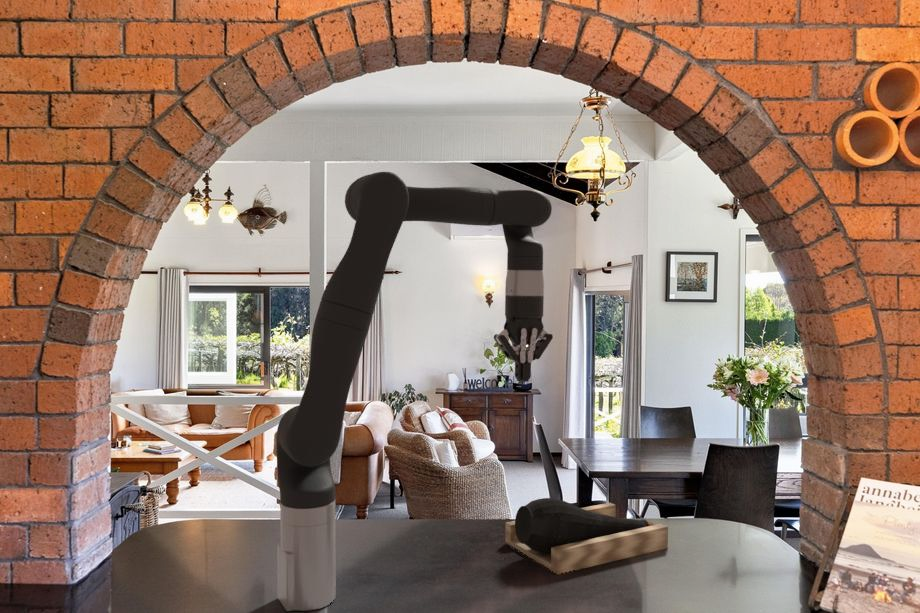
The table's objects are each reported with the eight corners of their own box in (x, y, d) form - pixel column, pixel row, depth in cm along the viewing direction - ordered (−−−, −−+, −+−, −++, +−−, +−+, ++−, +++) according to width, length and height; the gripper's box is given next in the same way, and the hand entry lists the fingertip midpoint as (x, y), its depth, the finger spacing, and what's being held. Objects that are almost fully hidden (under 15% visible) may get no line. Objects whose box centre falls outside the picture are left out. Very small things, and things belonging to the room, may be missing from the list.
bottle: (541, 537, 135) (673, 541, 146) (528, 486, 143) (655, 493, 153) (517, 562, 142) (645, 564, 153) (507, 512, 149) (630, 518, 160)
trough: (557, 574, 137) (557, 551, 137) (505, 543, 153) (505, 522, 152) (667, 548, 150) (668, 526, 150) (609, 522, 166) (609, 502, 166)
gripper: (505, 294, 137) (504, 385, 138) (563, 294, 144) (561, 382, 144) (485, 293, 144) (484, 380, 145) (541, 293, 150) (539, 377, 151)
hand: (522, 381), depth 145 cm, fingers closed
